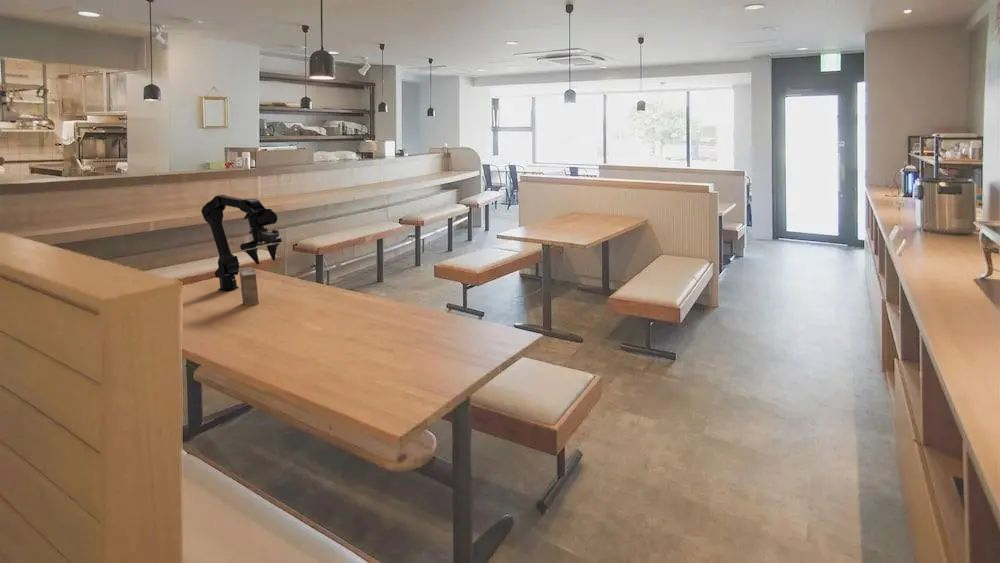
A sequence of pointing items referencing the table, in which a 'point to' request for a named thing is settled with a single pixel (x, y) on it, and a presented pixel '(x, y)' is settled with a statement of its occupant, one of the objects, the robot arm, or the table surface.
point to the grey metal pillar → (248, 286)
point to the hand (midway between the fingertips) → (266, 262)
